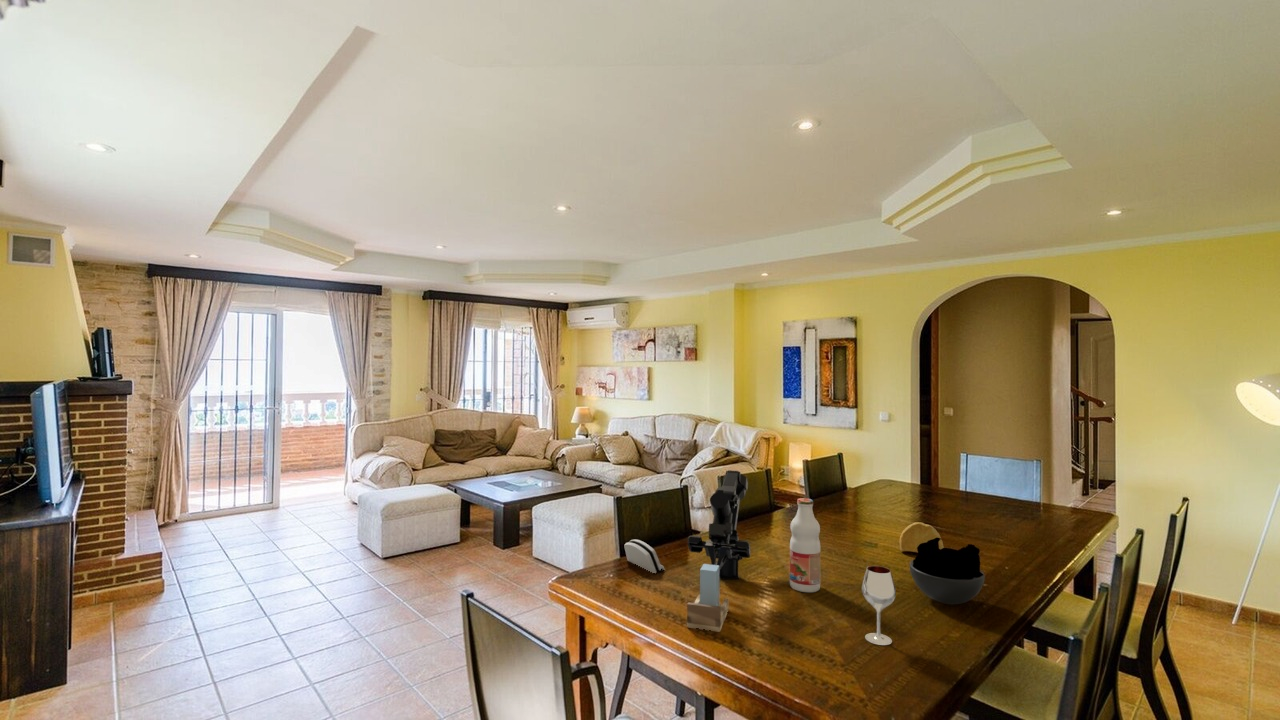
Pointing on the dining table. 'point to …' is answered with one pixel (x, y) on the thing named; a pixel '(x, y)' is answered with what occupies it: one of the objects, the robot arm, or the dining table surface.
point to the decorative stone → (917, 536)
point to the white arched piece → (642, 555)
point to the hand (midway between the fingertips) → (715, 572)
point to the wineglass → (878, 597)
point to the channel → (706, 615)
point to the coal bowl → (947, 572)
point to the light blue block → (709, 585)
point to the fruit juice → (805, 549)
